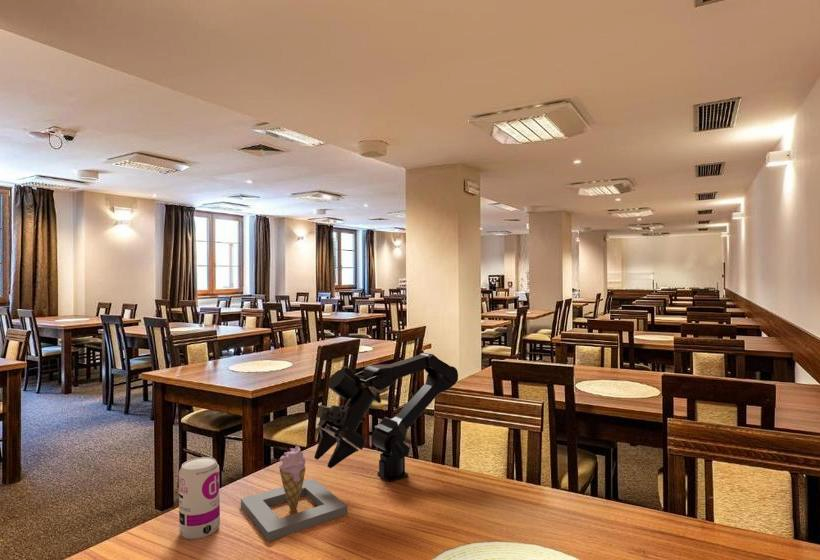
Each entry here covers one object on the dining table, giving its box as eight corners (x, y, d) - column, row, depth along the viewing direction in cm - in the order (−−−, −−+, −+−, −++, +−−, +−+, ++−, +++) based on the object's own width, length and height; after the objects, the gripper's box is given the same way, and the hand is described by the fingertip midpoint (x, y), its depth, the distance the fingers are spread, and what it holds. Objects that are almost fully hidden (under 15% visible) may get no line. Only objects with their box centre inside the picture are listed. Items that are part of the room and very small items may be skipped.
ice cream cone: (312, 510, 115) (311, 447, 115) (290, 520, 110) (289, 454, 110) (296, 501, 119) (295, 441, 119) (274, 510, 115) (273, 448, 115)
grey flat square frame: (313, 485, 128) (313, 478, 128) (347, 514, 113) (347, 505, 113) (240, 506, 117) (240, 498, 117) (268, 541, 102) (267, 532, 102)
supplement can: (228, 524, 109) (227, 458, 109) (201, 543, 101) (199, 472, 101) (199, 518, 112) (198, 454, 111) (171, 537, 104) (169, 468, 104)
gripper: (320, 388, 132) (285, 439, 126) (347, 396, 116) (309, 455, 110) (350, 410, 136) (318, 460, 130) (380, 420, 120) (345, 478, 114)
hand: (322, 463), depth 121 cm, fingers open, 9 cm apart
